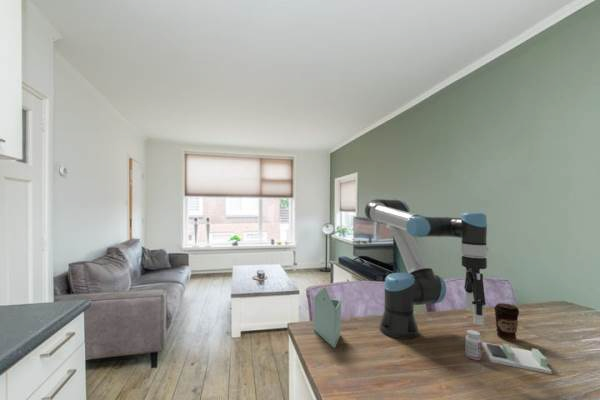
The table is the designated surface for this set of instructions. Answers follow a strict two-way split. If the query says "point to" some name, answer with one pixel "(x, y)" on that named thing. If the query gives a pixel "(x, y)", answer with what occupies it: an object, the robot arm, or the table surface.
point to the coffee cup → (506, 321)
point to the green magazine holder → (327, 317)
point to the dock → (517, 357)
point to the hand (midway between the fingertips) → (473, 317)
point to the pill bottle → (473, 345)
